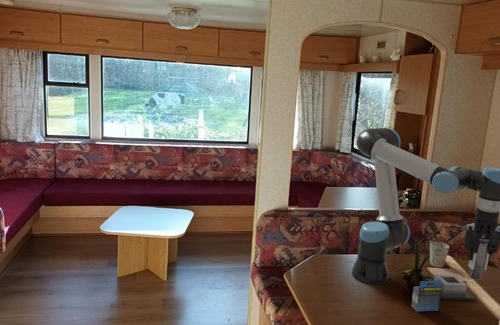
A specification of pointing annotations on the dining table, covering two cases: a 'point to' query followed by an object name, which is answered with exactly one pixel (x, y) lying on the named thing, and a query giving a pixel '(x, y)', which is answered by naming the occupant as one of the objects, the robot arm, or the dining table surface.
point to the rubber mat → (445, 272)
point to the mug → (438, 253)
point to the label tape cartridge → (426, 296)
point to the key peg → (480, 258)
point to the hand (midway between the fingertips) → (477, 268)
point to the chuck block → (452, 288)
